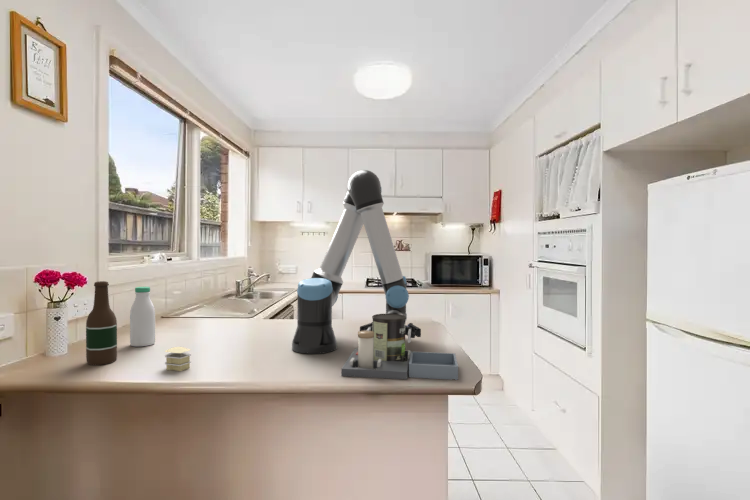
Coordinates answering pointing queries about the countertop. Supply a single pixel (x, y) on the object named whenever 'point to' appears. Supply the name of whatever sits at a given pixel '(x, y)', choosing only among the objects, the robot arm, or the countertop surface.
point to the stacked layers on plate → (177, 359)
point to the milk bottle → (142, 319)
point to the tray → (433, 365)
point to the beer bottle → (101, 329)
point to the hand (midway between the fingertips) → (387, 337)
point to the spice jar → (365, 349)
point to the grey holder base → (383, 368)
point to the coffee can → (389, 337)
